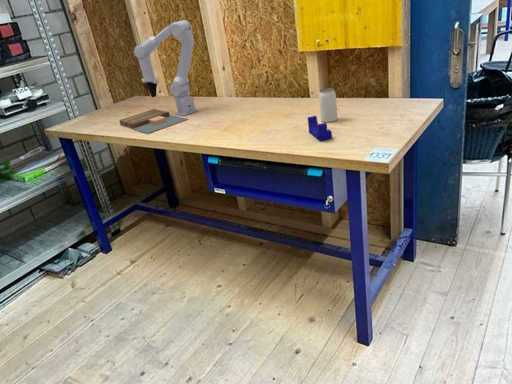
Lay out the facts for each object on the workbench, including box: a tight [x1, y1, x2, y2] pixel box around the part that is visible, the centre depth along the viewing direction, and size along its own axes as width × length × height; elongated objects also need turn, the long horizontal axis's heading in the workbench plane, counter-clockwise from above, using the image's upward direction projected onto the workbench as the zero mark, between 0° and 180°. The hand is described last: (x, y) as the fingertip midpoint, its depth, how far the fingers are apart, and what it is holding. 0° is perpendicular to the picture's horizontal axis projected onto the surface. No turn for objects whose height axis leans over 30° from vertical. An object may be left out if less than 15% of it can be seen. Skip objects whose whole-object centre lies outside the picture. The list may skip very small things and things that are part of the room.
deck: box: [119, 108, 171, 130], centre depth 214 cm, size 16×20×2 cm
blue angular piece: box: [307, 115, 333, 142], centre depth 151 cm, size 12×4×6 cm, turn 12°
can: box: [318, 87, 338, 124], centre depth 164 cm, size 6×6×12 cm
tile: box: [148, 116, 167, 125], centre depth 205 cm, size 7×6×2 cm
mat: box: [132, 115, 189, 135], centre depth 203 cm, size 16×22×1 cm
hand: (154, 96), depth 218 cm, fingers closed
